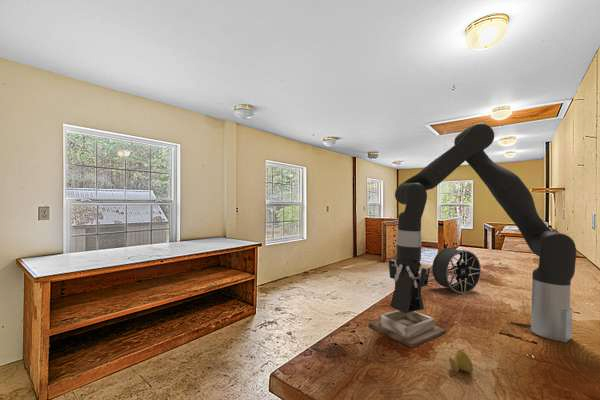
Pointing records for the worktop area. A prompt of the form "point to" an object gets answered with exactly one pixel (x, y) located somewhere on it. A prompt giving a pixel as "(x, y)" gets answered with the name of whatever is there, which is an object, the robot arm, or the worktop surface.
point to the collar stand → (407, 327)
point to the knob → (461, 362)
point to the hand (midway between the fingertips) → (407, 295)
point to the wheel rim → (457, 270)
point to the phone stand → (405, 295)
